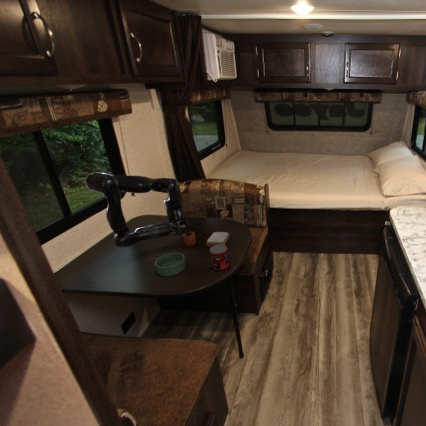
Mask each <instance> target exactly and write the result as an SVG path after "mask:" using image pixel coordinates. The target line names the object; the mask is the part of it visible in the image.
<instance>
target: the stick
mask: <svg viewBox="0 0 426 426" xmlns="http://www.w3.org/2000/svg"><path fill="white" fill-rule="evenodd" d="M183 217H184V222H185V226H190V223H189V222H188V219H189V217H188V214H187V213H184V215H183ZM186 232H187V236H191V232H192V231H191V230H186V231H185V233H186Z"/></svg>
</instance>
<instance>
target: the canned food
mask: <svg viewBox="0 0 426 426" xmlns="http://www.w3.org/2000/svg"><path fill="white" fill-rule="evenodd" d="M209 254H210V260H211V265H212V269H213V271H219V272H221V271H225V270H226V269H228V268H229V266H230V262H229V254H228V247H227V245H226V244H225V245H215V246H213V247H211V248H209Z"/></svg>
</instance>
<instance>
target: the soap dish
mask: <svg viewBox="0 0 426 426" xmlns="http://www.w3.org/2000/svg"><path fill="white" fill-rule="evenodd" d="M229 239H230V233H229V232H225V231H214V232H212V234H211V235H210V236H209V237H208V239H207V240H206V243H205V245H206V247H207V248H209V249H210V248H211V247H213V246H215V245H225V246H226V244H227V242H228V241H229Z"/></svg>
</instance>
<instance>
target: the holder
mask: <svg viewBox="0 0 426 426" xmlns="http://www.w3.org/2000/svg"><path fill="white" fill-rule="evenodd" d="M190 232H191V236H187V232H186V231H185V232H184V233H183V234H182V235H183V240H184V244H185V245H184V246H187V247H190V246H194V245H196V244H197V238H196V233H195V232H194V231H190Z"/></svg>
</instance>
